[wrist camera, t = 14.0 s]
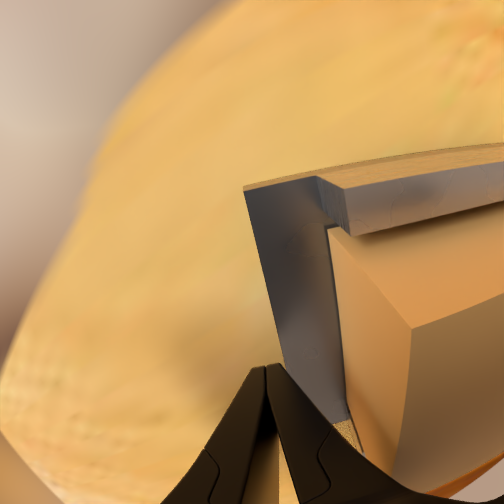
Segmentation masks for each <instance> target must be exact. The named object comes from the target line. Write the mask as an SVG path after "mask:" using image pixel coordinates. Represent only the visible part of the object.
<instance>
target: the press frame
mask: <svg viewBox="0 0 504 504" xmlns="http://www.w3.org/2000/svg"><path fill="white" fill-rule="evenodd" d="M243 192H244V196H245V200H246V204H247V208H248V212H249V216H250V221H251V225H252V229H253V233H254V237H255V241H256V245H257V249H258V253H259V257H260V262H261V266H262V270H263V274H264V278H265V282H266V286H267V291H268V295H269V299H270V303H271V307H272V311H273V315H274V320H275V324H276V328H277V332H278V336H279V341H280V345H281V349H282V353H283V357H284V362H285V366H286V370H287V372H288V373H289V375H290V376H291V377H292V378H293V379H294V381H295V382H296V383H297V384H298V385H299V387H300V388H301V389H302V390H303V391H304V393H305V394H306V395H307V396H308V397H309V398H310V400H311V401H312V402H313V403H314V404H315V405H316V407H317V408H318V409H319V410H320V411H321V412H322V414H323V415H324V416H325V417H326V418H327V419H328V420H329V422H330V423H331V424H334V423H338V422H342V421H345V420H347V422H348V425H349V428H350V431H351V434H352V437H353V440H354V443H355V447H356V450H357V451H358V452H359V453H361V454H362V455H363V456H364V457H365V458H366V456H365V453H364V450H363V447H362V444H361V441H360V438H359V435H358V432H357V429H356V426H355V423H354V421H353V418H352V415H351V412H350V409H349V406H348V403H347V396H346V382H345V369H344V357H343V346H342V336H341V327H340V317H339V309H338V301H337V293H336V285H335V277H334V270H333V263H332V256H331V250H330V243H329V237H328V231H327V229H331V228H336V227H341V228H342V229H343V230H344V231H345V232H346V233H347V234H348V235H350V236H351V237H353V236H357V235H361V234H365V233H370V232H374V231H378V230H382V229H387V228H391V227H395V226H399V225H403V224H408V223H412V222H416V221H420V220H424V219H429V218H433V217H437V216H441V215H445V214H449V213H453V212H458V211H462V210H466V209H470V208H474V207H478V206H482V205H486V204H490V203H494V202H499V201H503V200H504V143H495V144H485V145H475V146H466V147H457V148H449V149H441V150H434V151H426V152H419V153H412V154H406V155H399V156H393V157H386V158H380V159H374V160H368V161H363V162H357V163H351V164H346V165H341V166H335V167H330V168H325V169H320V170H315V171H310V172H305V173H300V174H295V175H291V176H286V177H282V178H277V179H272V180H268V181H264V182H259V183H255V184H251V185H246V186H243Z"/></svg>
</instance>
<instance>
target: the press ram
mask: <svg viewBox="0 0 504 504" xmlns="http://www.w3.org/2000/svg"><path fill="white" fill-rule="evenodd" d="M327 231H328V237H329V243H330V250H331V256H332V263H333V270H334V277H335V285H336V293H337V301H338V309H339V317H340V327H341V336H342V346H343V357H344V369H345V382H346V396H347V403H348V406H349V409H350V412H351V415H352V418H353V421H354V423H355V426H356V429H357V432H358V435H359V438H360V441H361V444H362V447H363V450H364V453H365V456H366V458H367V459H368V460H369V461H370V462H372V463H373V464H374V465H376V466H377V467H378V468H380V469H381V470H382V471H384V472H385V473H386V474H388V475H389V476H390V477H392V478H393V479H394V480H396V481H397V482H399V483H400V484H401V485H403V486H405V487H407V488H409V489H411V490H413V491H416V492H419V493H426V492H428V491H431V490H433V489H435V488H437V487H440V486H442V485H444V484H446V483H448V482H450V481H452V480H454V479H456V478H458V477H460V476H462V475H464V474H466V473H468V472H470V471H471V470H473V469H475V468H477V467H479V466H480V465H482V464H484V463H486V462H487V461H489V460H491V459H492V458H494V457H496V456H497V455H499V454H500V453H502V452H504V200H503V201H499V202H494V203H490V204H486V205H482V206H478V207H474V208H470V209H466V210H462V211H458V212H453V213H449V214H445V215H441V216H437V217H433V218H429V219H424V220H420V221H416V222H412V223H408V224H403V225H399V226H395V227H391V228H387V229H382V230H378V231H374V232H370V233H365V234H361V235H357V236H353V237H351V236H350V235H348V234H347V233H346V232H345V231H344V230H343V229H342V228H341V227H336V228H331V229H327Z"/></svg>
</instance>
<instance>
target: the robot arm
mask: <svg viewBox="0 0 504 504" xmlns="http://www.w3.org/2000/svg"><path fill="white" fill-rule="evenodd" d="M279 438H280V441H281V445H282V448H283V452H284V455H285V458H286V462H287V465H288V468H289V472H290V475H291V478H292V481H293V485H294V488H295V491H296V494H297V498H298V501H299V504H504V495H502V496H500V497H498V498H496V499H494V500H490V501H487V502H480V503H474V502H465V501H459V500H453V499H448V498H442V497H437V496H433V495H428V494H424V493H419V492H416V491H413V490H411V489H409V488H407V487H405V486H403V485H401V484H400V483H399V482H397V481H396V480H394V479H393V478H392V477H390V476H389V475H388V474H386V473H385V472H384V471H382V470H381V469H380V468H378V467H377V466H376V465H374V464H373V463H372V462H370V461H369V460H368V459H367V458H365V457H364V456H363V455H362V454H361V453H359V452H358V451H357V450H356V449H355V448H354V447H353V446H352V445H351V444H350V443H349V442H348V441H347V440H346V439H345V438H344V437H343V436H342V435H341V434H340V433H339V432H338V431H337V429H336V428H334V426H333V425H332V424H331V423H330V422H329V420H328V419H327V418H326V417H325V416H324V415H323V414H322V412H321V411H320V410H319V409H318V408H317V407H316V405H315V404H314V403H313V402H312V401H311V400H310V398H309V397H308V396H307V395H306V394H305V393H304V391H303V390H302V389H301V388H300V387H299V385H298V384H297V383H296V382H295V381H294V379H293V378H292V377H291V376H290V375H289V373H288V372H287V371H286V370H285V369H284V367H283V366H282V365H281V364H280V363H275V364H270V365H267V366H266V367H265V366H260V367H255V368H252V369H251V370H250V372H249V374H248V375H247V377H246V379H245V381H244V382H243V384H242V386H241V387H240V389H239V391H238V393H237V394H236V396H235V398H234V399H233V401H232V403H231V404H230V406H229V408H228V409H227V411H226V413H225V414H224V416H223V418H222V419H221V421H220V423H219V424H218V426H217V427H216V429H215V431H214V432H213V434H212V436H211V437H210V439H209V440H208V442H207V444H206V445H205V447H204V449H203V450H202V451H201V453H200V454H199V456H198V458H197V459H196V461H195V462H194V463H193V465H192V466H191V468H190V469H189V471H188V472H187V473H186V474H185V476H184V477H183V478H182V479H181V481H180V482H179V483H178V484H177V485H176V487H175V488H174V489H173V490H172V491H171V492H170V493H169V495H168V496H167V497H166V498H165V499H164V500H163V501H162V502H161V503H160V504H279Z"/></svg>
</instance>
